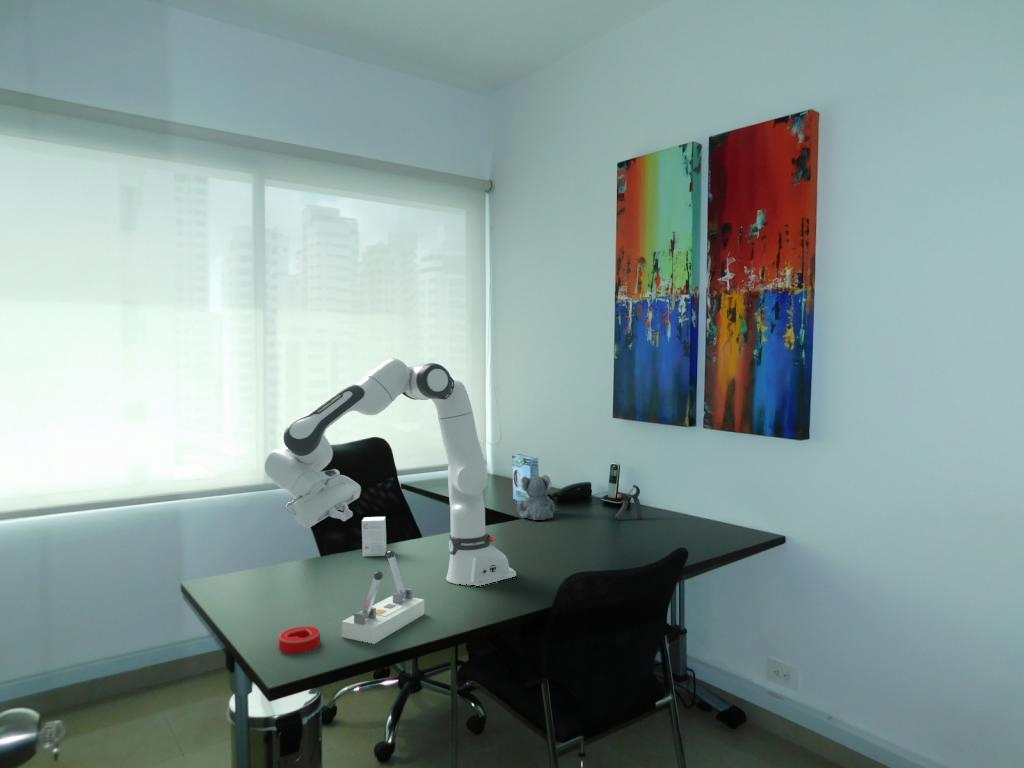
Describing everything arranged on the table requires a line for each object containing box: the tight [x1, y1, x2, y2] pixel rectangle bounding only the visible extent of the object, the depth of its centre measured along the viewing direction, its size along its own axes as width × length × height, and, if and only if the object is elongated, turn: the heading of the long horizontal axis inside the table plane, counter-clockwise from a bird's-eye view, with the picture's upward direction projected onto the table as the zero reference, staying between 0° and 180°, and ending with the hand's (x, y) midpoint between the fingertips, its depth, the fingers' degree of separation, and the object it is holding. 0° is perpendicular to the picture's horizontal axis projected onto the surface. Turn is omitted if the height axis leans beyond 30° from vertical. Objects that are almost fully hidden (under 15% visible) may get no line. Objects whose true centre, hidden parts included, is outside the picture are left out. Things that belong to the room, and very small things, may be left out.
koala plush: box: [516, 473, 556, 521], centre depth 300 cm, size 17×18×20 cm
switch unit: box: [341, 587, 425, 645], centre depth 177 cm, size 22×10×6 cm, turn 153°
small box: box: [361, 516, 387, 557], centre depth 244 cm, size 8×6×13 cm
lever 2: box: [386, 550, 409, 599], centre depth 184 cm, size 3×2×13 cm
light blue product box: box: [511, 453, 540, 502], centre depth 334 cm, size 20×5×23 cm, turn 27°
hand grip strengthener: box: [614, 484, 643, 520], centre depth 294 cm, size 2×12×15 cm, turn 101°
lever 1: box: [359, 570, 384, 619], centre depth 168 cm, size 3×2×13 cm
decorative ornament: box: [278, 626, 321, 654], centre depth 164 cm, size 10×10×3 cm
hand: (348, 517), depth 178 cm, fingers closed
